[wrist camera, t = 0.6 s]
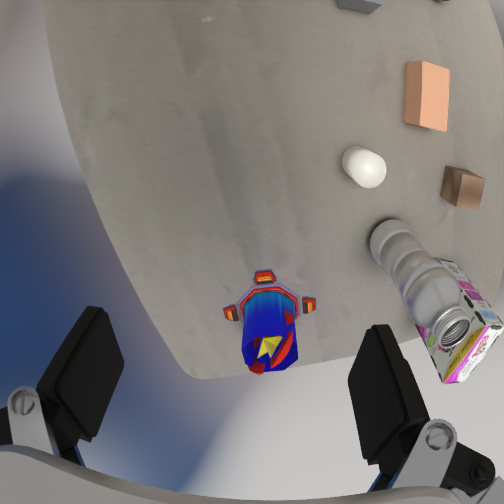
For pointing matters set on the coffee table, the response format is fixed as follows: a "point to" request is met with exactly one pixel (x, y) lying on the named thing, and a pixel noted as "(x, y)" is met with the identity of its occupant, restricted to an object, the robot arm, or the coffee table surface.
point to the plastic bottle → (421, 282)
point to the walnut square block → (462, 188)
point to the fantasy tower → (269, 323)
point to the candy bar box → (476, 341)
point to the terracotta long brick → (426, 95)
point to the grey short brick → (360, 5)
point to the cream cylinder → (364, 166)
